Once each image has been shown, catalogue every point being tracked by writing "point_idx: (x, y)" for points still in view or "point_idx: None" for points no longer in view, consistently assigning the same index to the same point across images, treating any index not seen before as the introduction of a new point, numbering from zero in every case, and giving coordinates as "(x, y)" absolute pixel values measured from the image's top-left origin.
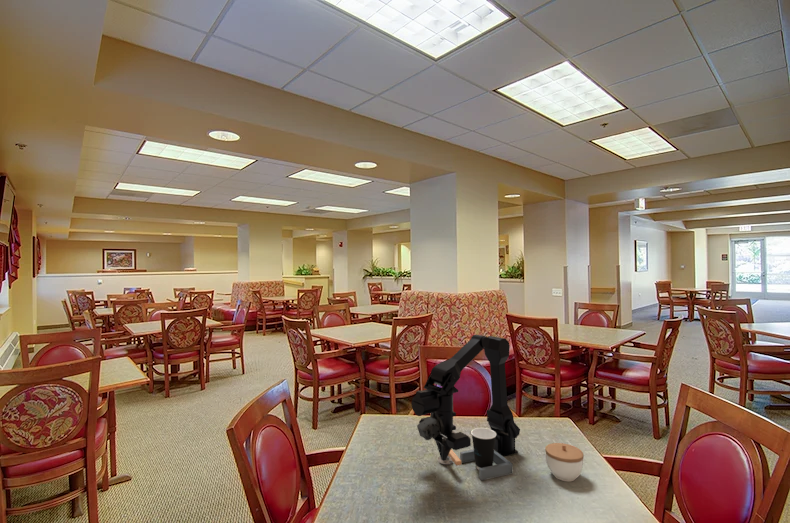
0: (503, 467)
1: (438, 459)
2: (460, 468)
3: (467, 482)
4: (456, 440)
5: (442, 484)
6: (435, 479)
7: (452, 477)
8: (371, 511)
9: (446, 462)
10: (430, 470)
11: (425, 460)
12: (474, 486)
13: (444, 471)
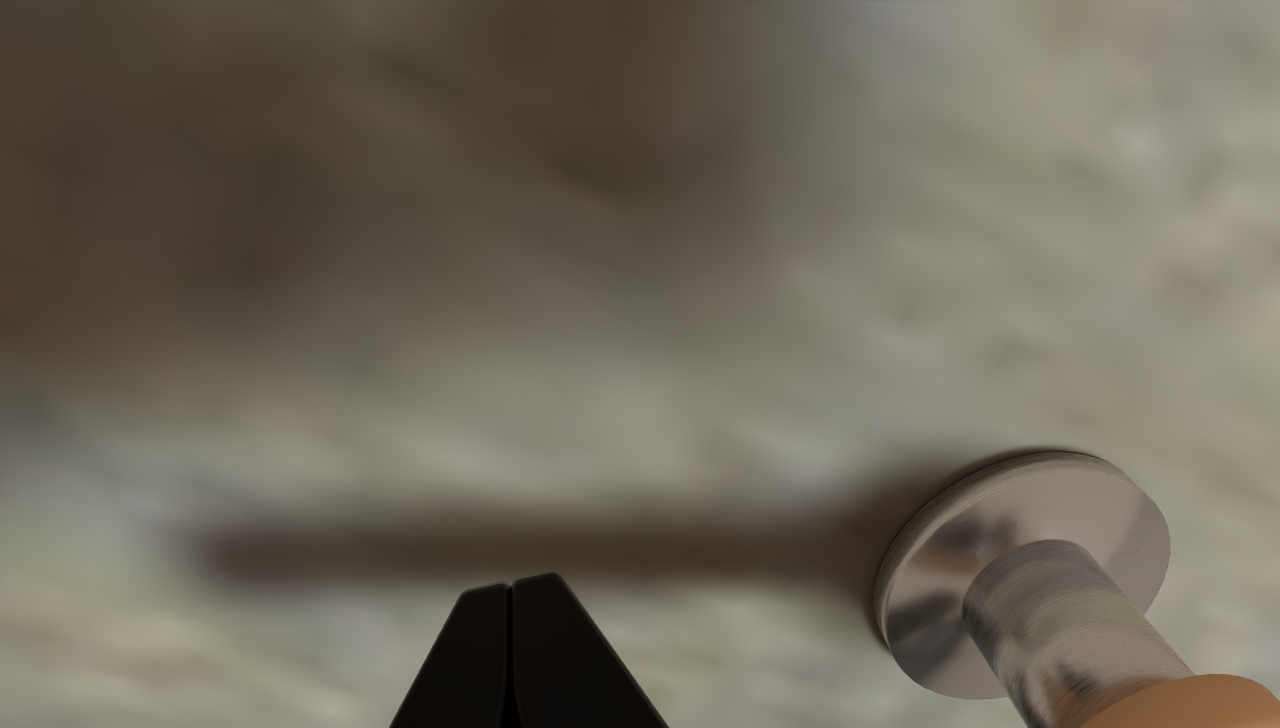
0: None
1: (1099, 484)
2: (676, 696)
3: (182, 659)
4: None
5: (195, 192)
6: (464, 125)
7: (433, 490)
8: None
9: (922, 574)
10: (874, 179)
11: (1270, 243)
12: (17, 714)
13: (703, 433)
